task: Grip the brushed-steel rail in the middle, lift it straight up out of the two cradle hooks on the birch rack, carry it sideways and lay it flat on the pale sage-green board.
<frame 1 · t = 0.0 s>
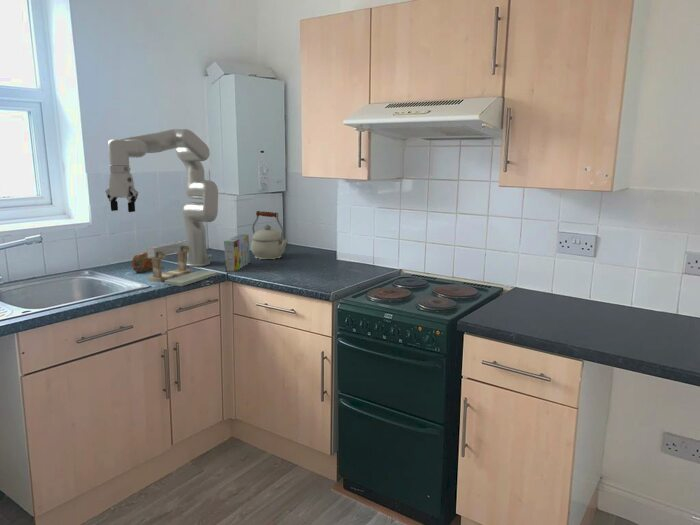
hand: (123, 211, 229), 31 cm above the worktop, tool pointing down, fingers open, 9 cm apart
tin: (143, 270, 261), on the worktop
rack: (170, 276, 248), on the worktop
rail: (169, 252, 246), point 11 cm above the worktop, touching rack
snack box: (238, 267, 270), on the worktop
kettle: (270, 258, 295), on the worktop
board: (192, 279, 243), on the worktop
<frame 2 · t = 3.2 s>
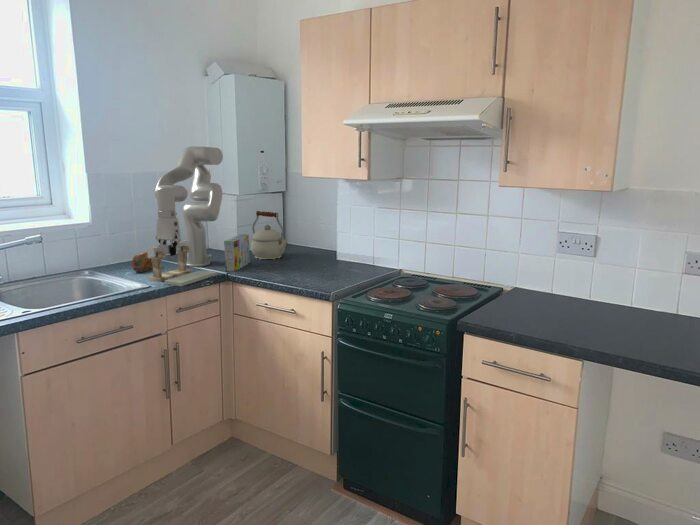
hand: (169, 254, 246), 10 cm above the worktop, tool pointing down, fingers closed on rail, 4 cm apart
rail: (169, 252, 246), point 11 cm above the worktop, touching gripper, rack
everything else where it was.
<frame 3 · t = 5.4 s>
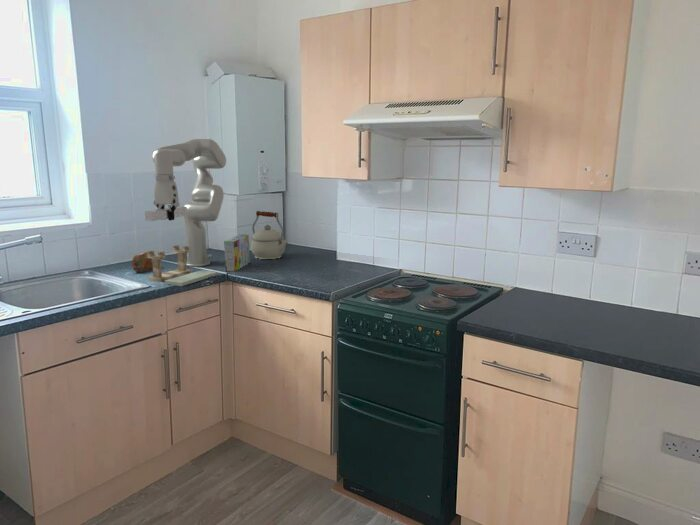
hand: (167, 219, 243), 26 cm above the worktop, tool pointing down, fingers closed on rail, 4 cm apart
rail: (167, 217, 243), point 27 cm above the worktop, touching gripper
everything else where it was.
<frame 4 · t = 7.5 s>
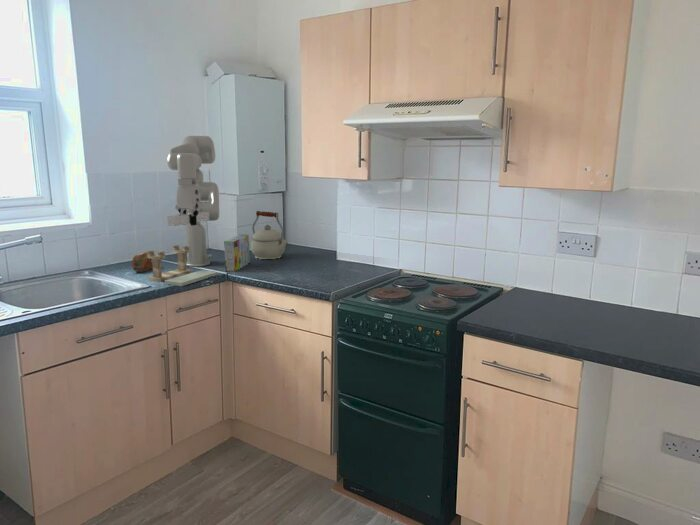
hand: (189, 224, 238), 25 cm above the worktop, tool pointing down, fingers closed on rail, 4 cm apart
rail: (189, 222, 238), point 25 cm above the worktop, touching gripper
everything else where it was.
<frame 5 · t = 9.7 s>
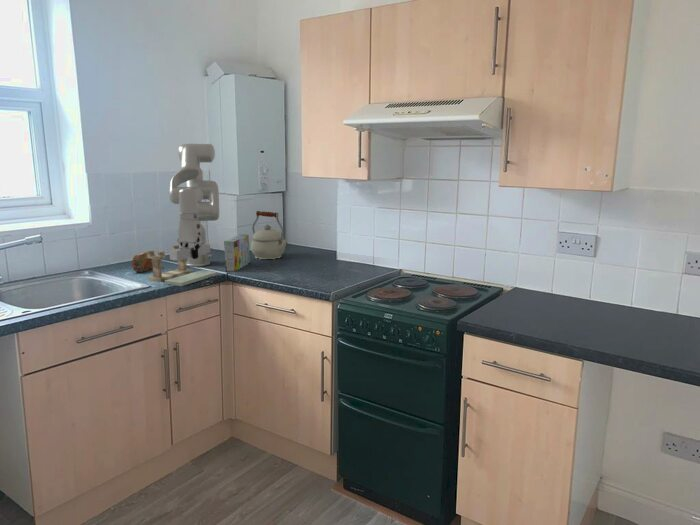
hand: (191, 257, 241), 10 cm above the worktop, tool pointing down, fingers closed on rail, 4 cm apart
rail: (190, 256, 241), point 11 cm above the worktop, touching gripper
everything else where it was.
when the fingers open (3 cm above the worktop, at t = 11.6 s): rail drops 2 cm, resting on board.
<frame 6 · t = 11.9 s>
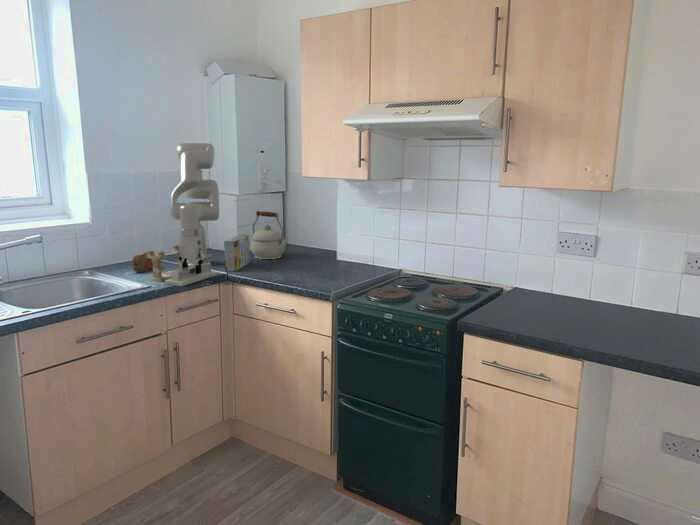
hand: (191, 272, 243), 3 cm above the worktop, tool pointing down, fingers open, 6 cm apart
rail: (192, 276, 243), point 1 cm above the worktop, touching board
everything else where it was.
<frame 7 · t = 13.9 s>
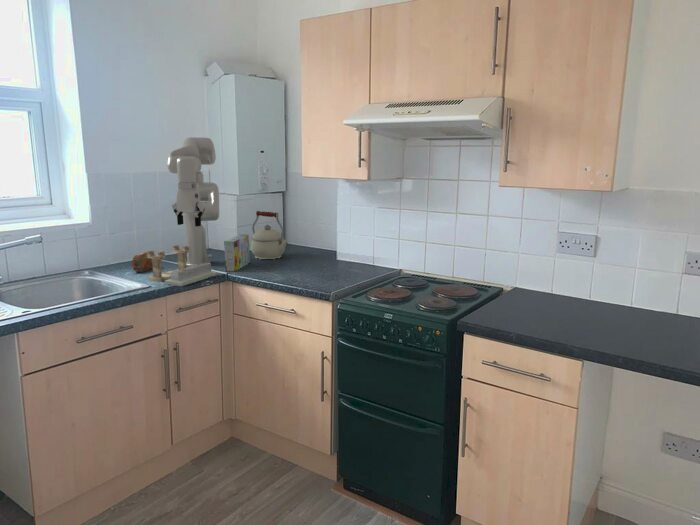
hand: (189, 225, 241), 24 cm above the worktop, tool pointing down, fingers open, 9 cm apart
nothing on the worktop moved.
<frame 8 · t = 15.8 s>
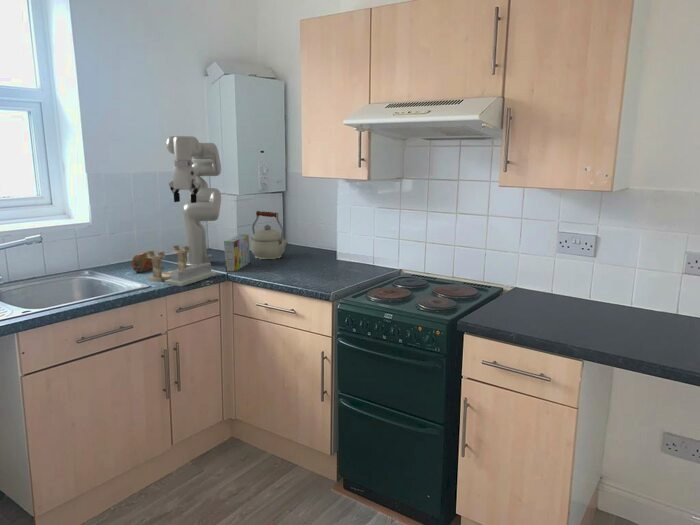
hand: (185, 202, 249), 33 cm above the worktop, tool pointing down, fingers open, 9 cm apart
nothing on the worktop moved.
at the end: rail inside the target area on the board (0.0 cm from its centre), point 1.5 cm above the board's base; rail touching board; the gripper is holding nothing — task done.
